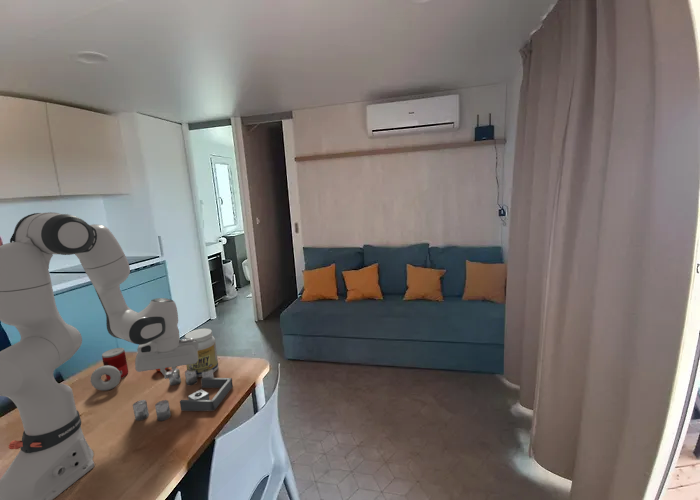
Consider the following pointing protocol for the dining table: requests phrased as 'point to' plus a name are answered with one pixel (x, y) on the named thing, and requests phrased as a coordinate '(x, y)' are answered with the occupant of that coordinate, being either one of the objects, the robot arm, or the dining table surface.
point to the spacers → (163, 406)
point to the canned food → (116, 361)
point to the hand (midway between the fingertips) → (169, 377)
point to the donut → (103, 385)
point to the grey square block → (199, 395)
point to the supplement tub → (204, 351)
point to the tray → (209, 404)
